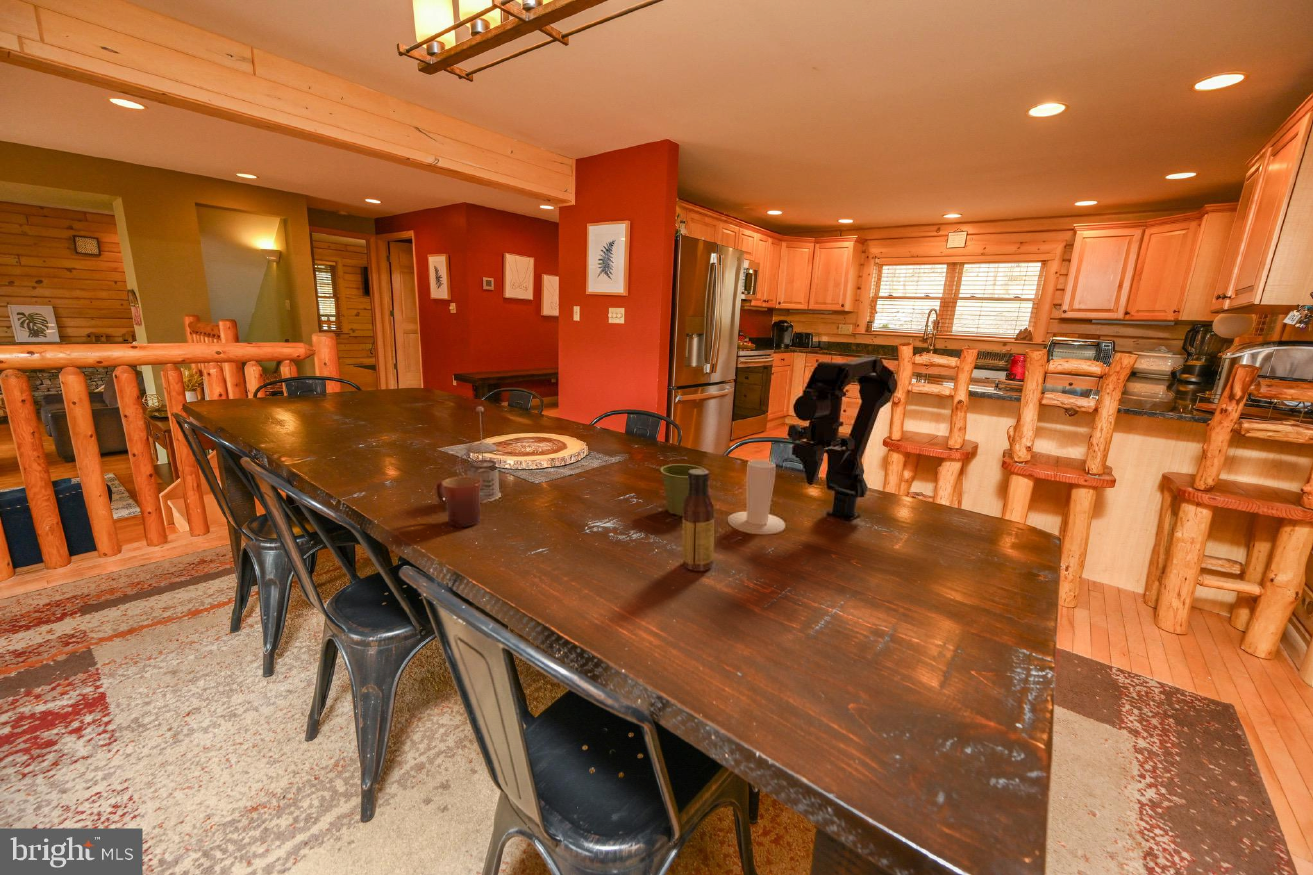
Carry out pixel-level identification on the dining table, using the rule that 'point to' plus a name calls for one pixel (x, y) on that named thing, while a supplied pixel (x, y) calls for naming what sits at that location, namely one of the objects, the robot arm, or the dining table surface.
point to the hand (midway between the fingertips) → (820, 480)
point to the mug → (461, 500)
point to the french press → (480, 448)
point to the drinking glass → (759, 490)
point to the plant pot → (676, 485)
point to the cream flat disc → (743, 525)
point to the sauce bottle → (698, 523)
